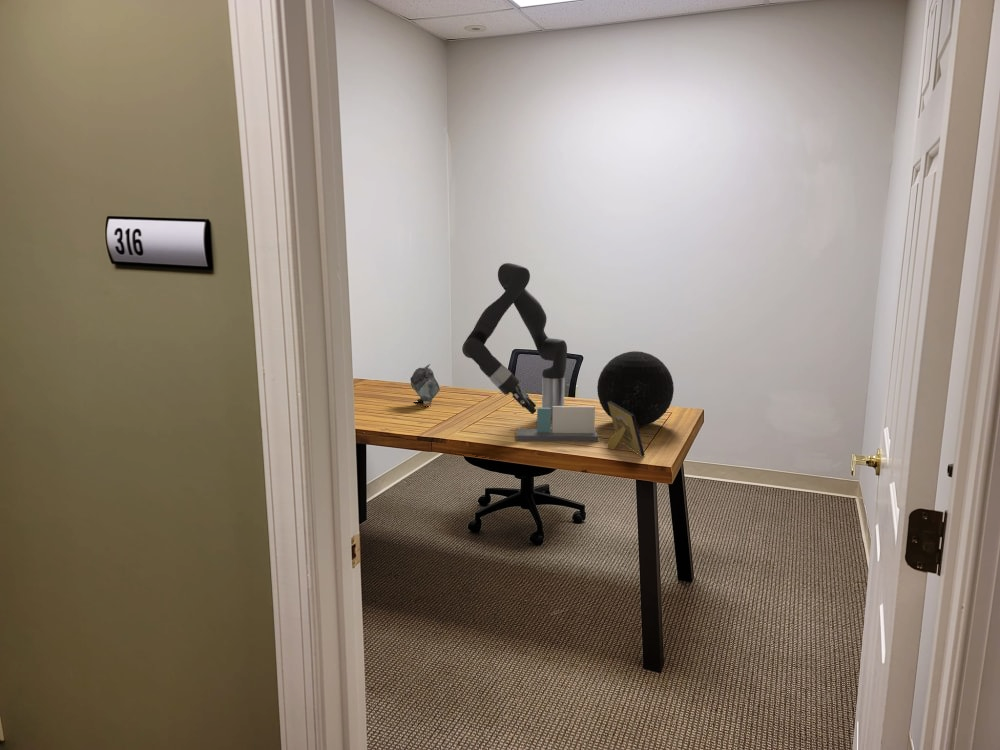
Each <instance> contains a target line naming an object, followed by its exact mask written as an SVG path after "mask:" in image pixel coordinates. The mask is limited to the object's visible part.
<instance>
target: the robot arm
mask: <svg viewBox="0 0 1000 750" xmlns="http://www.w3.org/2000/svg"><path fill="white" fill-rule="evenodd" d="M497 278H498V279H497V280H498V282H499V284H500V286H501V287H502V288H503V290H504V292H503V293H502V295H501V296H500V297H498V298H497V299H495V301H493V302H492V303H490V304H489V305H488V306H487V307H486V308H485V309H484V310H483V311H482V313H481V315H480V317H479V318H478V320H477V321H476V323H475V325H474V328H473V330H472V331H471V332H470V334H469V335H468V336H467V337H466V340H465V341H464V343H463V345H462V348H461V349H462V350H461V351H462V354H463V356H465V357H466V358H468V359H471V360H473V361H474V363H476V365H478V366H479V369H480V370H481V372H482V373H483V374H484V375H486V376H487V377H488V379H489V380H490V381H491V383H492V384H493V385H494V386H495V387H497V388H498V389H499V391H500V392H502V393H503V395H505V396H507V395H509V394H510V393H511V395H512V398H513V399H514V400H516V402H517V403H518V404H519V405H520V406H521V407H522V408H525V409H526V410H527V411H528V412H529V413H530V414H531V415H533V414H535V413H537V408H536V406H537V404H536V403H534V401H533V400H532V399H531V398H530V396H529V395H528V394H527V392H525V391H524V389H522V387H520V386H519V384H520V380H519V379H518V378H517V377H516V376H515V374H513V372H511V371H510V370H509V369H508V367H506V366H505V365H504V364H502V363H501V362H500V361H499V359H497V357H495V356H494V355H493V354H492V353H491V351H490V350H489V348H488V347H487V346H486V345H485V344H486V342H487V341H488V339H489V338H491V336H492V335H493V333H494V332H495V330H496V328H497V326H498V324H499V323H500V321H502V318H503V316H504V315H505V313H506V312H508V310H509V308H511V306H512V305H514V307H515V309H516V310H517V312H518V314H519V317H520V318H521V320H522V322H523V324H524V325H525V326H526V328H527V330H528V332H529V334H530V337H531V338H532V340H533V343H534V345H535V348H536V351H537V353H538V355H539V356H540V357H541V359H543V360H545V361H549V362H550V361H551V362H552V366H550V367H549V368H545V369H543V370H542V374H541V375H542V376H541V377H542V385H541V387H542V388H541V389H542V390H541V391H542V393H541V395H542V396H541V408H551V420H552V406H565V378H566V377H565V375H566V374H565V373H566V370H567V358H568V356H567V355H568V345H567V343H566V341H565V340H564V339H560V338H550V337H548V336H547V333H546V332H545V328H546V324H547V318H548V317H547V313H546V312H545V310H544V308H543V306H542V305H541V303H540V302H539V301H538V300H537V298H536V297H535V296H533V294H531V292H529V291H528V290H527V286H528V284H529V282H530V280H531V274H530V271H529V269H528V267H526V266H523V265H520V264H516V263H511V262H506V263H502V264H501V265H500V266H499V268H498V270H497Z"/></svg>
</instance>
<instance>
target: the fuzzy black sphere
mask: <svg viewBox="0 0 1000 750" xmlns="http://www.w3.org/2000/svg"><path fill="white" fill-rule="evenodd" d="M596 387H597V398H598V400H599V404H600V406H601V407H602V409H603V411H604V412H605V414H606V415H608V416H609V417H610V418H611V419H612V417H611V413H610V409H609V406H608V402H609V401H611V402H613V403H615V404H616V405H618V406H620V407H622V408H623V409H625V410H627V411H628V412H630V413H632V414H633V415H635V418H636V422H637V426H638V427H644V426H648V425H650V424H653V423H655V422H657V421H658V420H659V419H660V418H662V417H663V415H665V414H666V412H668V409H669V408H670V406H671V403H672V400H673V397H674V380H673V377H672V374H671V373H670V371H669V368H668V367H667V366H666V365H665V363H664V362H663V361H662V360H661V359H659V358H658V357H656V356H654V355H652V354H650V353H648V352H643V351H636V350H633V351H632V350H631V351H628V352H627V351H626V352H623V353H621V354H619V355H616V356H615V357H613V358H612V359H611V360H609V361H608V362H607V364H606V365H605V366H604V367H603V368H602V370H601V372H600V374H599V377H598V380H597V386H596Z"/></svg>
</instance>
